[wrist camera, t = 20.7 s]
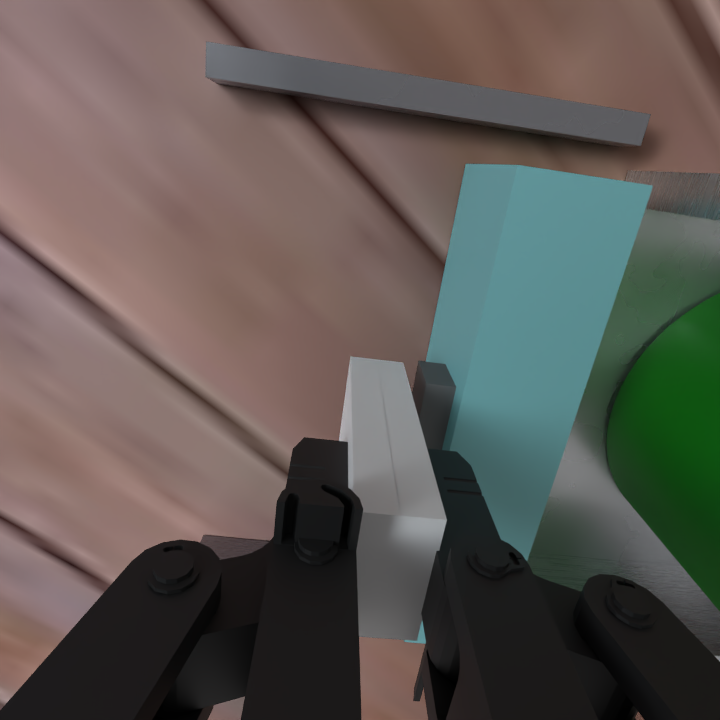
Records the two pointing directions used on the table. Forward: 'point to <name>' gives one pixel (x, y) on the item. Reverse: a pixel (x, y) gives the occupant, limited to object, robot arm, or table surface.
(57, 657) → the robot arm
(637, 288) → the tray
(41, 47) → the table surface
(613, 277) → the bar
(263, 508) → the table surface
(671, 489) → the motor
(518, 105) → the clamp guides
